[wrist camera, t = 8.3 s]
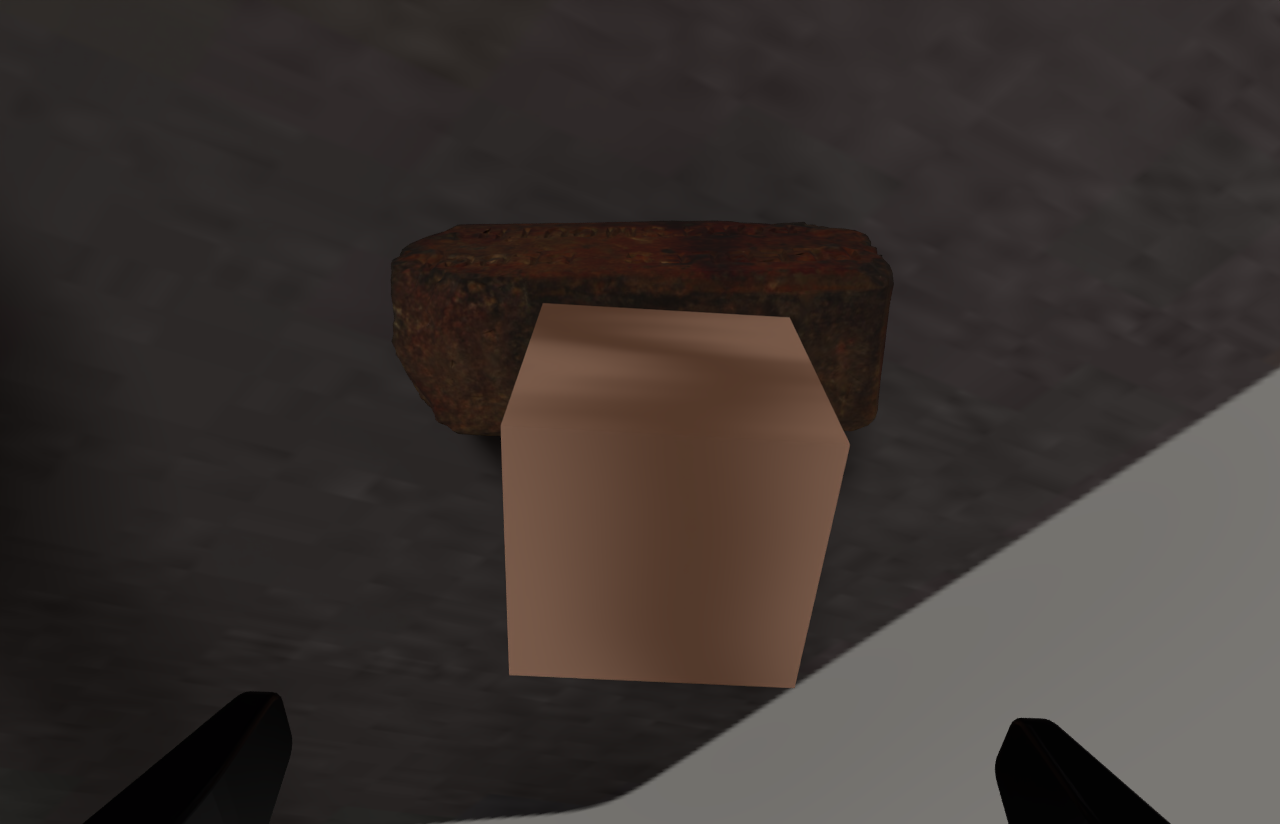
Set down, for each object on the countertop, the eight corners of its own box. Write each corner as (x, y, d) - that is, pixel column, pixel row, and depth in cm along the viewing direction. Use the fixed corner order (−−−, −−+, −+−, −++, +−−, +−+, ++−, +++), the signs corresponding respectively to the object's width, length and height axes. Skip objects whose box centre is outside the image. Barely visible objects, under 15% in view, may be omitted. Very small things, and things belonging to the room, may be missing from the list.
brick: (847, 209, 19) (905, 266, 14) (831, 353, 20) (877, 440, 16) (427, 217, 19) (366, 275, 15) (449, 360, 21) (401, 447, 17)
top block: (543, 505, 17) (509, 674, 13) (543, 303, 15) (500, 425, 10) (755, 516, 17) (794, 687, 13) (789, 317, 15) (849, 444, 11)
